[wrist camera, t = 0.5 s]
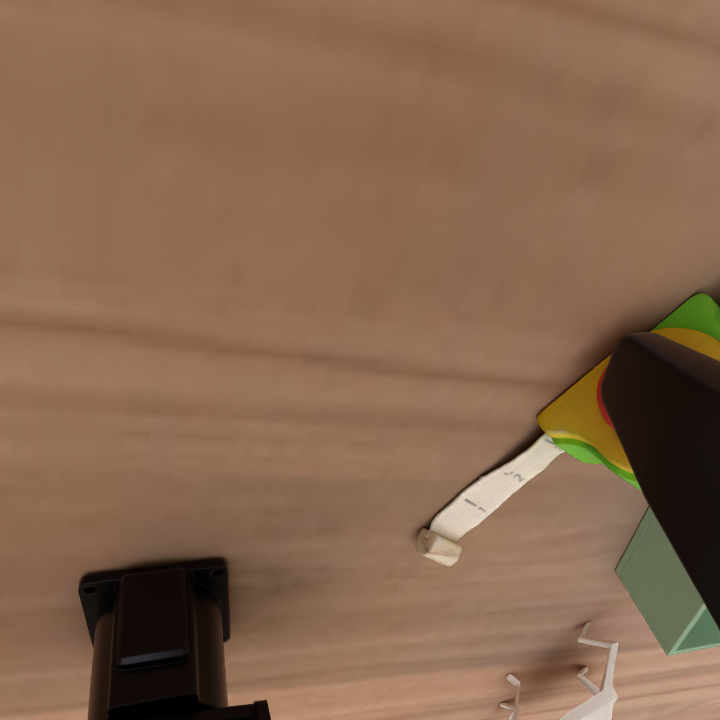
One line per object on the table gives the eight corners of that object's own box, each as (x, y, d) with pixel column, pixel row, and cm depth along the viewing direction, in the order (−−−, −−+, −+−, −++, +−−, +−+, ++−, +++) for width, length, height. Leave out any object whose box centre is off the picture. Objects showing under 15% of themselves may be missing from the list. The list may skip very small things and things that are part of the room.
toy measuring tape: (780, 308, 30) (905, 407, 25) (461, 558, 36) (509, 677, 31) (720, 229, 26) (852, 325, 21) (379, 522, 33) (418, 649, 28)
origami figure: (585, 692, 51) (618, 761, 47) (481, 713, 49) (507, 787, 45) (635, 600, 44) (679, 674, 40) (515, 622, 42) (550, 701, 38)
